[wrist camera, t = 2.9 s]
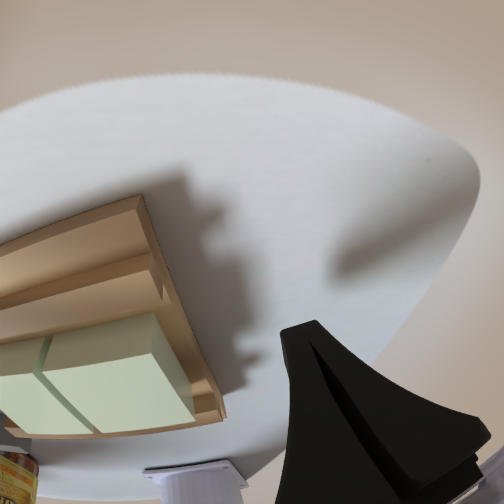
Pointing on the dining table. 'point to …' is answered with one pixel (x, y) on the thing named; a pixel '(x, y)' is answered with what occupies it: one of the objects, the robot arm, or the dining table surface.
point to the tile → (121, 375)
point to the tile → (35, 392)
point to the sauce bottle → (17, 478)
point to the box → (12, 439)
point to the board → (99, 294)
